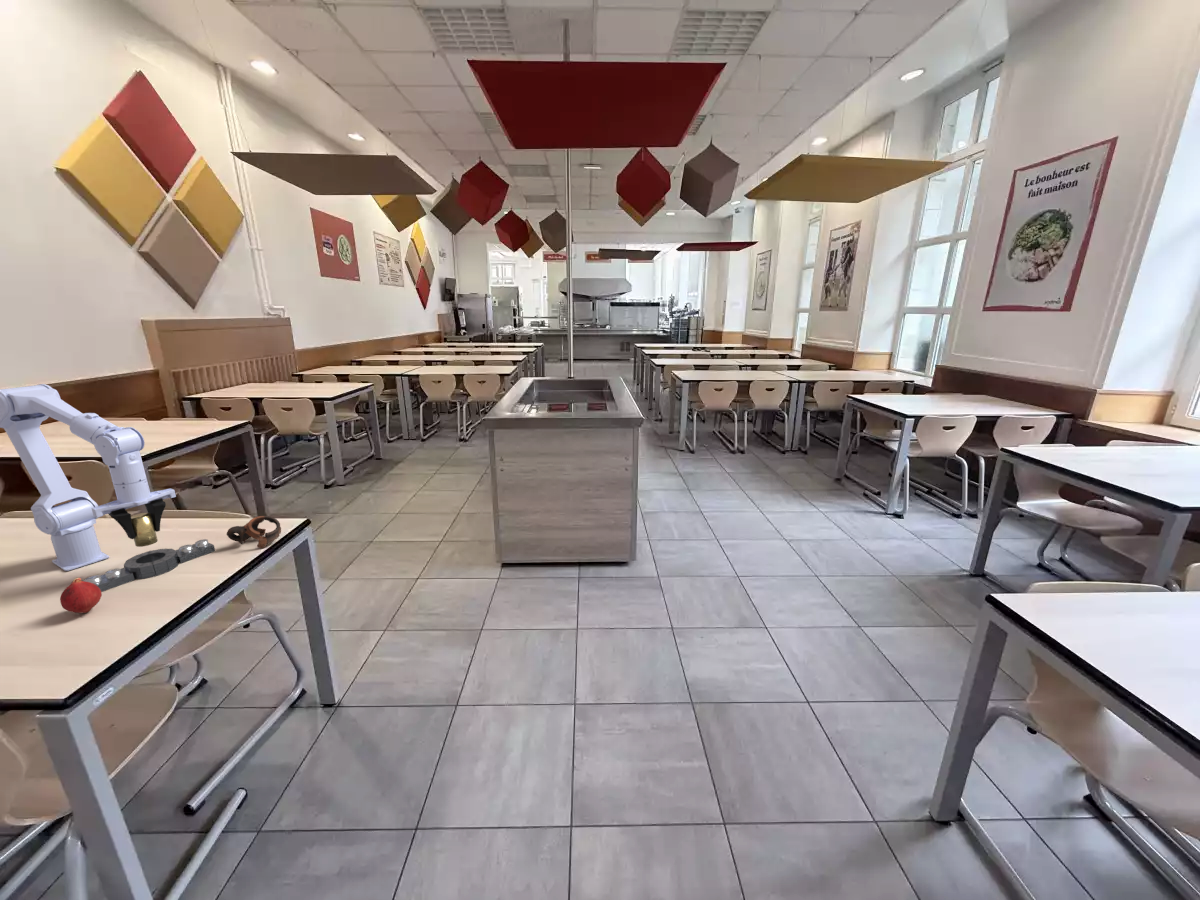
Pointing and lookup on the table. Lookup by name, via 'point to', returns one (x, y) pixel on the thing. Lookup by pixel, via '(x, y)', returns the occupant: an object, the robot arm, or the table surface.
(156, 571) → the studded flange bracket
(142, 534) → the pin
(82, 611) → the onion
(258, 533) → the rusty ring shackle
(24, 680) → the table surface
